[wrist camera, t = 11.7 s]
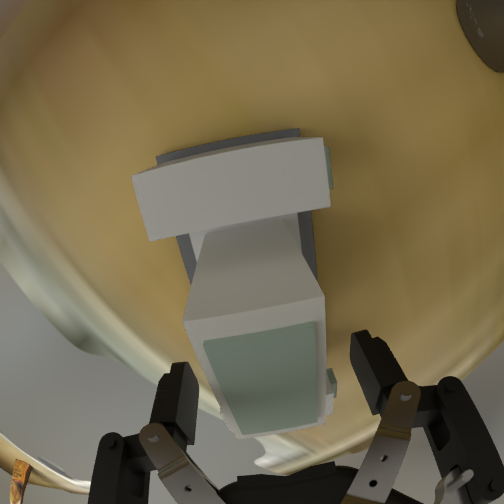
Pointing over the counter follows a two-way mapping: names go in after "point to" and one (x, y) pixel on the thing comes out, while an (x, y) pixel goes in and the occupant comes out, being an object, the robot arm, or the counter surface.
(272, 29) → the counter surface
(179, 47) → the counter surface
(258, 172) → the rail
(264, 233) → the block
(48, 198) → the counter surface
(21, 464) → the pancake mix bag
